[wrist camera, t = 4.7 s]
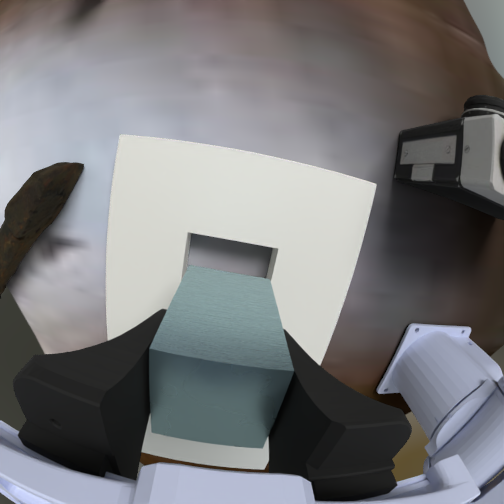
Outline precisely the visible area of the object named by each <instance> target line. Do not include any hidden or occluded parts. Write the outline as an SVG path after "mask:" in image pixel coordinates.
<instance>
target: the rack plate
mask: <svg viewBox="0 0 504 504" xmlns="http://www.w3.org/2000/svg"><path fill="white" fill-rule="evenodd" d="M376 185H377V184H375V183H371V182H368V181H365V180H362V179H358V178H355V177H352V176H348V175H345V174H341V173H338V172H334V171H330V170H327V169H323V168H319V167H315V166H311V165H307V164H303V163H299V162H295V161H290V160H286V159H282V158H277V157H273V156H268V155H263V154H258V153H253V152H248V151H243V150H237V149H232V148H226V147H220V146H214V145H208V144H201V143H195V142H187V141H180V140H172V139H164V138H155V137H145V136H134V135H121V134H120V137H119V143H118V148H117V154H116V160H115V167H114V174H113V181H112V189H111V198H110V207H109V218H108V232H107V251H106V317H107V335H108V340H111V339H113V338H115V337H117V336H120V335H122V334H123V333H125V332H127V331H129V330H130V329H132V328H134V327H135V326H137V325H138V324H140V323H141V322H143V321H144V320H146V319H147V318H149V317H150V316H152V315H153V314H154V313H156V312H157V311H159V310H160V309H168V307H169V305H170V303H171V301H172V299H173V297H174V295H175V293H176V291H177V289H178V287H179V285H180V283H181V281H182V279H183V277H184V275H185V273H186V271H187V263H188V256H189V248H190V241H191V235H192V233H195V234H201V235H206V236H212V237H217V238H223V239H228V240H234V241H239V242H245V243H250V244H256V245H261V246H267V247H272V248H273V250H272V255H271V259H270V263H269V268H268V272H267V276H266V279H270V281H271V285H272V289H273V292H274V296H275V300H276V304H277V307H278V311H279V315H280V319H281V323H282V326H283V329H285V330H286V331H287V332H288V333H289V334H290V335H291V336H292V337H293V339H294V340H295V341H296V342H297V343H298V344H299V345H300V346H301V348H302V349H303V350H304V351H305V352H306V353H307V354H308V355H309V356H310V357H311V358H312V359H313V360H314V361H315V362H316V363H317V364H319V365H321V362H322V360H323V357H324V355H325V352H326V350H327V347H328V345H329V342H330V339H331V337H332V334H333V331H334V329H335V326H336V323H337V320H338V318H339V315H340V312H341V309H342V306H343V303H344V300H345V297H346V294H347V291H348V288H349V285H350V282H351V279H352V276H353V273H354V269H355V266H356V263H357V259H358V256H359V252H360V249H361V245H362V242H363V238H364V234H365V231H366V227H367V223H368V219H369V215H370V211H371V207H372V203H373V198H374V194H375V190H376Z"/></svg>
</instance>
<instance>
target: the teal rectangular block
mask: <svg viewBox="0 0 504 504" xmlns="http://www.w3.org/2000/svg"><path fill="white" fill-rule="evenodd" d="M293 373H294V368H293V365H292V361H291V357H290V353H289V349H288V345H287V342H286V338H285V334H284V330H283V326H282V323H281V319H280V315H279V311H278V307H277V304H276V300H275V296H274V292H273V289H272V285H271V281H270V279H266V278H260V277H254V276H249V275H243V274H237V273H231V272H226V271H220V270H215V269H209V268H204V267H198V266H193V265H189V267H188V269H187V271H186V273H185V275H184V277H183V279H182V281H181V283H180V285H179V287H178V289H177V291H176V293H175V295H174V297H173V299H172V301H171V303H170V305H169V307H168V309H167V311H166V314H165V316H164V318H163V320H162V322H161V324H160V326H159V328H158V330H157V333H156V335H155V337H154V339H153V341H152V344H151V346H150V348H149V389H150V415H151V432H152V433H156V434H160V435H165V436H169V437H174V438H179V439H185V440H190V441H196V442H203V443H209V444H217V445H225V446H235V447H246V448H261V449H263V447H264V444H265V442H266V440H267V438H268V435H269V433H270V431H271V428H272V426H273V424H274V421H275V419H276V416H277V414H278V411H279V409H280V407H281V404H282V402H283V399H284V396H285V394H286V391H287V389H288V386H289V384H290V381H291V378H292V376H293Z"/></svg>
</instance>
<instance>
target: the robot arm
mask: <svg viewBox="0 0 504 504" xmlns="http://www.w3.org/2000/svg"><path fill="white" fill-rule="evenodd" d="M166 311H167V309H160V310H159V311H157V312H156V313H154V314H153V315H152V316H150V317H149V318H147V319H146V320H144V321H143V322H141V323H140V324H138V325H137V326H135V327H134V328H132V329H130V330H129V331H127V332H125V333H123V334H122V335H120V336H117V337H115V338H113V339H111V340H108V341H106V342H104V343H101V344H98V345H95V346H91V347H88V348H85V349H81V350H76V351H72V352H66V353H58V354H45V355H34V356H33V357H32V358H31V359H30V360H29V362H28V363H27V364H26V365H25V366H24V367H23V368H22V369H21V371H20V372H19V373H18V374H17V375H16V377H15V379H14V380H13V387H14V391H15V395H16V397H17V400H18V402H19V404H20V406H21V409H22V411H23V413H24V415H25V417H26V419H27V421H26V422H25V424H24V425H23V427H22V429H21V430H20V432H19V431H17V430H15V429H14V428H12V427H10V426H9V425H7V424H6V423H4V422H3V421H1V420H0V492H1V493H2V494H3V495H5V496H6V497H7V498H9V499H10V500H12V501H13V502H15V503H16V504H504V471H503V472H502V473H501V474H500V475H499V476H497V477H496V478H495V479H494V480H493V481H491V482H490V483H488V482H489V481H490V480H491V479H492V478H494V476H496V475H497V474H498V473H499V472H500V471H501V470H502V469H503V468H504V376H503V374H502V371H501V369H500V367H499V365H498V364H497V363H496V362H495V361H494V360H492V358H490V357H489V356H488V355H487V354H486V353H485V352H484V351H483V350H482V349H481V348H480V347H479V346H477V345H476V344H475V343H474V342H473V341H472V340H471V339H470V338H469V335H470V333H471V328H470V327H465V326H445V325H429V324H415V323H413V324H410V325H409V326H408V327H407V329H406V332H405V334H404V336H403V338H402V341H401V343H400V345H399V347H398V349H397V351H396V353H395V355H394V357H393V359H392V361H391V363H390V365H389V367H388V369H387V371H386V373H385V375H384V377H383V378H382V380H381V382H380V384H379V386H378V387H377V392H378V394H386V393H401V395H402V396H403V398H404V399H405V401H406V403H407V404H408V406H409V407H410V409H411V411H412V412H413V414H414V415H415V417H416V419H417V420H418V422H419V424H420V425H421V427H422V428H423V430H424V432H425V433H426V435H427V437H428V438H429V440H430V442H429V443H428V444H427V445H426V446H425V449H426V451H427V453H428V454H429V456H428V457H427V458H426V459H425V461H424V466H423V474H422V475H419V476H416V477H412V478H409V479H406V480H402V481H398V482H396V480H395V478H394V475H393V473H392V472H391V470H392V469H393V468H394V467H395V465H394V462H393V460H392V458H393V457H394V456H395V455H396V454H397V453H398V452H399V451H400V449H401V448H402V447H403V446H404V445H405V443H406V442H407V440H408V439H409V437H410V435H411V432H412V430H411V429H412V428H411V425H410V423H409V421H408V420H407V418H406V416H405V414H404V413H403V411H402V410H401V409H399V408H396V407H393V406H389V405H386V404H383V403H381V402H378V401H376V400H373V399H371V398H369V397H367V396H365V395H363V394H361V393H359V392H357V391H355V390H353V389H352V388H350V387H348V386H346V385H345V384H343V383H342V382H340V381H339V380H337V379H336V378H335V377H333V376H332V375H331V374H329V373H328V372H327V371H325V370H324V369H323V368H322V367H321V366H320V365H319V364H317V363H316V362H315V361H314V360H313V359H312V358H311V357H310V356H309V355H308V354H307V353H306V352H305V351H304V350H303V349H302V348H301V346H300V345H299V344H298V343H297V342H296V341H295V340H294V339H293V337H292V336H291V335H290V334H289V333H288V332H287V331H286V330H285V329H283V330H284V334H285V338H286V342H287V345H288V349H289V353H290V357H291V361H292V365H293V368H294V373H293V376H292V378H291V381H290V384H289V386H288V389H287V391H286V394H285V396H284V399H283V402H282V404H281V407H280V409H279V411H278V414H277V416H276V419H275V421H274V424H273V426H272V428H271V431H270V433H269V435H268V441H269V473H253V472H238V471H226V470H217V469H209V468H202V467H195V466H189V465H183V464H173V463H162V462H160V463H155V464H150V465H146V466H143V467H142V468H141V470H140V472H139V474H138V478H137V473H138V467H139V461H140V456H141V451H142V446H143V442H144V437H145V433H146V429H147V424H148V420H149V416H150V389H149V348H150V346H151V344H152V341H153V339H154V337H155V335H156V333H157V330H158V328H159V326H160V324H161V322H162V320H163V318H164V316H165V314H166ZM415 329H416V330H415ZM136 479H137V481H136ZM487 483H488V484H487ZM485 484H487V485H485Z"/></svg>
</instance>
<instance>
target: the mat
mask: <svg viewBox="0 0 504 504" xmlns="http://www.w3.org/2000/svg"><path fill="white" fill-rule="evenodd" d="M141 452H144V453H148V454H152V455H156V456H161V457H165V458H170V459H175V460H181V461H186V462H192V463H199V464H206V465H213V466H222V467H233V468H246V469H265V467H266V465H267V463H268V461H269V441H268V438H267V440H266V442H265V444H264V447H263V449H261V448H246V447H235V446H225V445H217V444H209V443H203V442H196V441H190V440H185V439H179V438H174V437H169V436H165V435H160V434H156V433H152V432H151V415H150V416H149V420H148V424H147V429H146V433H145V437H144V442H143V446H142V451H141Z"/></svg>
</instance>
